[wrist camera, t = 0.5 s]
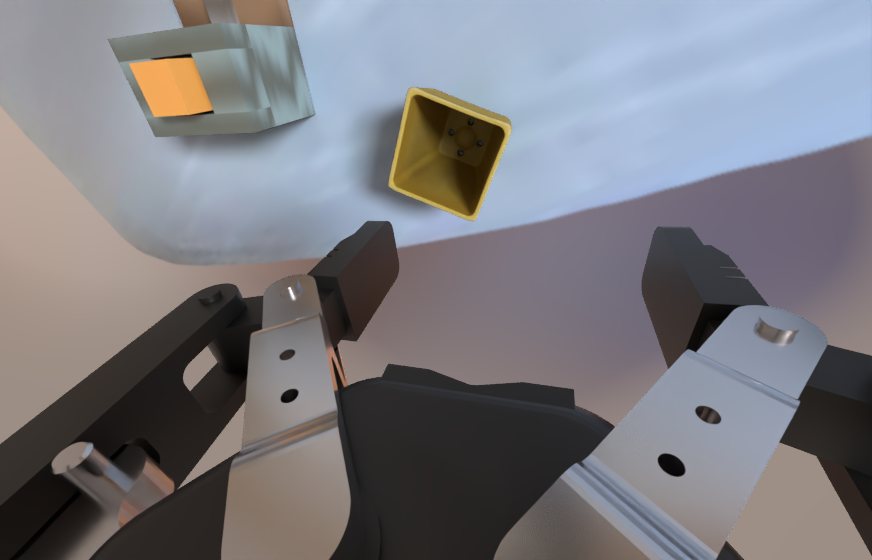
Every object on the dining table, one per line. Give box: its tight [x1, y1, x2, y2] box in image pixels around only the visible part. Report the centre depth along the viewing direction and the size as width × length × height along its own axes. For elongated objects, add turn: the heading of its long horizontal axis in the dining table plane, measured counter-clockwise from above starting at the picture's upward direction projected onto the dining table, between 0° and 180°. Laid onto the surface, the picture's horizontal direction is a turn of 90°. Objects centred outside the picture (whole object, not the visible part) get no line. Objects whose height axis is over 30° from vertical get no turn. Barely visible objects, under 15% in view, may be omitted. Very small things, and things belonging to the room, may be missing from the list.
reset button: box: [129, 58, 213, 117], centre depth 30 cm, size 4×4×3 cm
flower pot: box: [388, 87, 511, 221], centre depth 33 cm, size 9×9×9 cm
